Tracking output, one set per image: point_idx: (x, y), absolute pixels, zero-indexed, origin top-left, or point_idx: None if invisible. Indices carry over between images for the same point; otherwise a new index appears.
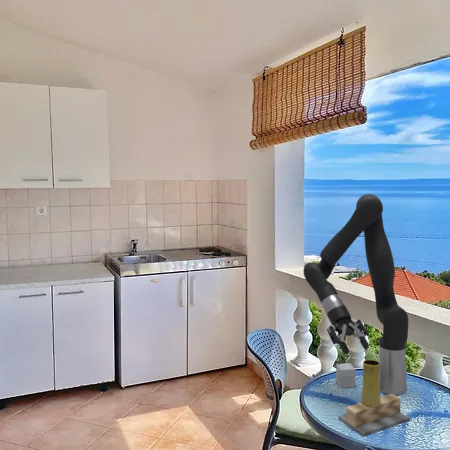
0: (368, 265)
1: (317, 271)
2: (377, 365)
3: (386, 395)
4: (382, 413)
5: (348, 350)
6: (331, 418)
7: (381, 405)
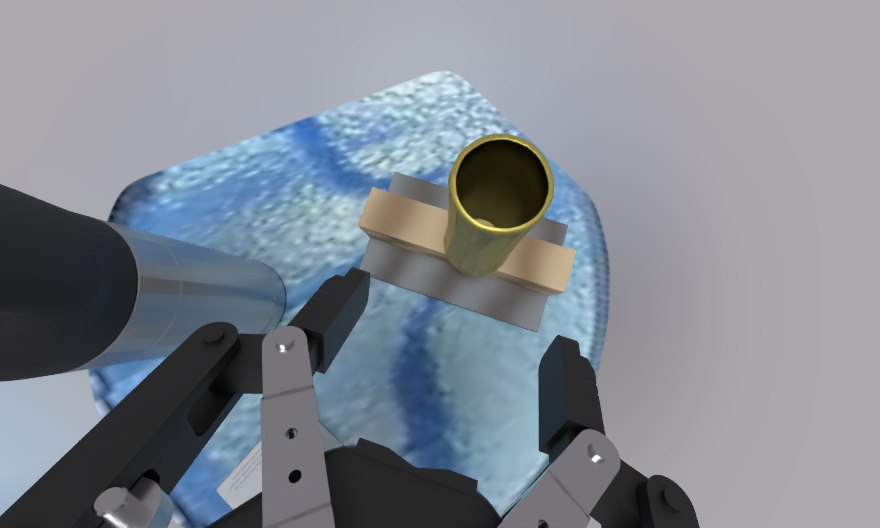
0: None
1: None
2: (511, 136)
3: (385, 231)
4: None
5: (569, 342)
6: None
7: None
